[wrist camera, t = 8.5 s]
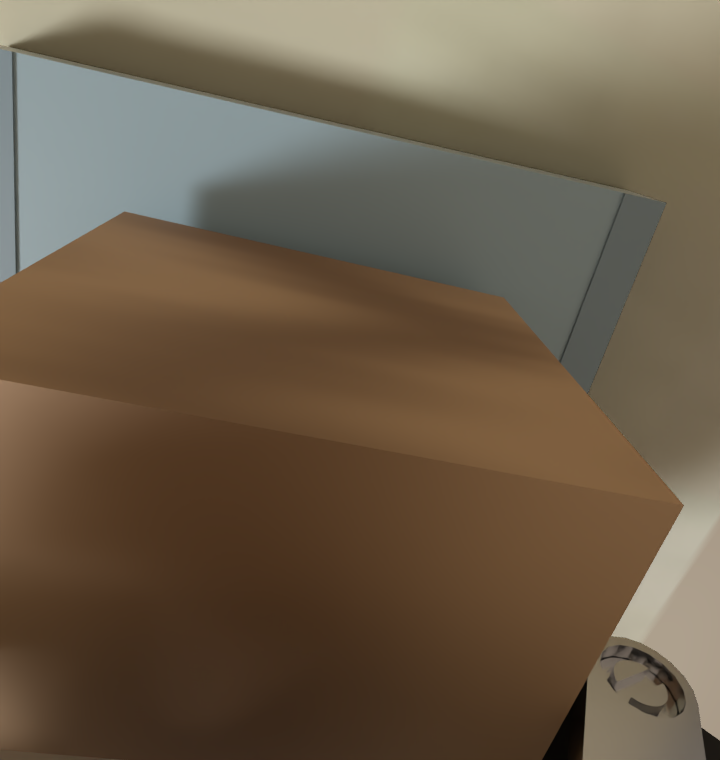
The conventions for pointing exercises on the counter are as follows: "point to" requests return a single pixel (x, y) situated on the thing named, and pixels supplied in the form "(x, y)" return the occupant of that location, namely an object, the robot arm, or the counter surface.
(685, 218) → the counter surface
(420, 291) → the wooden block
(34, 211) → the plate
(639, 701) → the robot arm
